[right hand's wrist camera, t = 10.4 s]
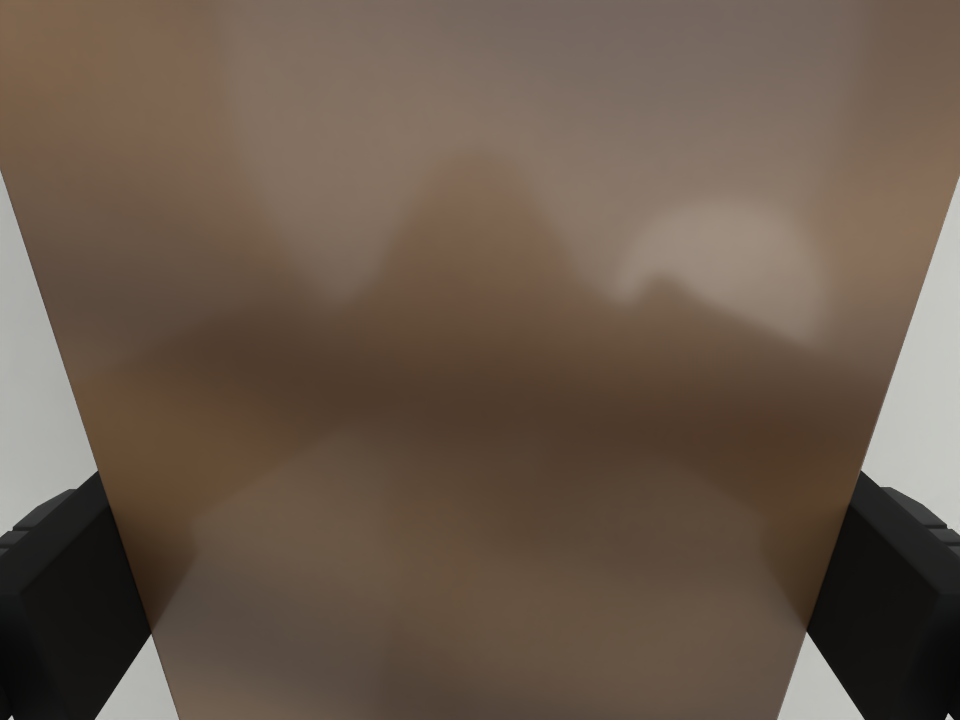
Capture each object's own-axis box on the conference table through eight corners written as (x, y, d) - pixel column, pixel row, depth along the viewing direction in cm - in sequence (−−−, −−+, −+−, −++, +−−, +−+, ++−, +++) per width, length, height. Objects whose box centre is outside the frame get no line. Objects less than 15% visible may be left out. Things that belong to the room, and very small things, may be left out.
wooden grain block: (229, -110, 12) (-229, -522, 4) (731, -107, 12) (1192, -509, 4) (310, 463, 19) (181, 731, 11) (646, 464, 19) (774, 730, 11)
